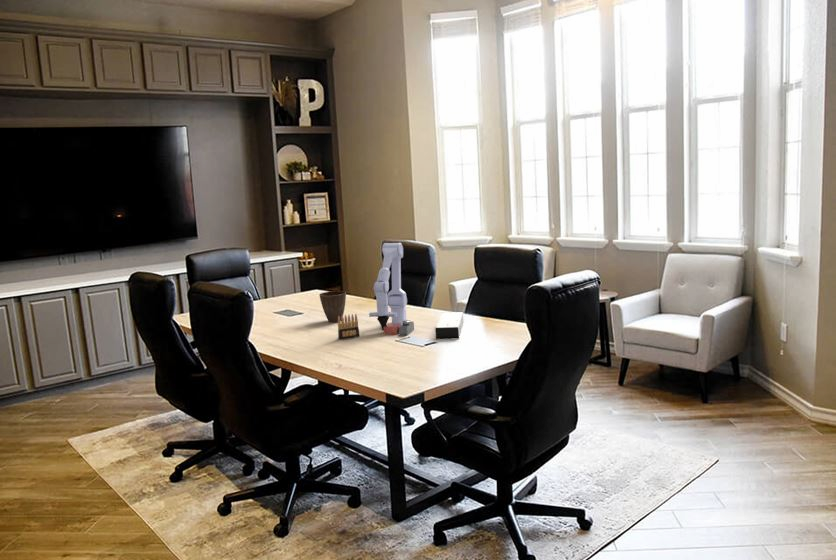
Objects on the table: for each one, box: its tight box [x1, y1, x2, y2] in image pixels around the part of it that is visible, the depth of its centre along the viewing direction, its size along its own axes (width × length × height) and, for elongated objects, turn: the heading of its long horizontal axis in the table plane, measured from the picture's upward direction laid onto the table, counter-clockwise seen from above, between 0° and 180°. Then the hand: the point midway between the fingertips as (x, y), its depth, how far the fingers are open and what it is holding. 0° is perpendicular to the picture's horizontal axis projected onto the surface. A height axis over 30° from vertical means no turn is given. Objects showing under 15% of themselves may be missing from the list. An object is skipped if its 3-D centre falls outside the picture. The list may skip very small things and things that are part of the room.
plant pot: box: [319, 290, 347, 323], centre depth 384 cm, size 15×15×16 cm
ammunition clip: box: [337, 313, 361, 340], centre depth 343 cm, size 11×2×12 cm, turn 112°
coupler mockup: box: [398, 319, 415, 337], centre depth 349 cm, size 12×11×6 cm
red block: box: [383, 322, 401, 335], centre depth 350 cm, size 8×7×4 cm
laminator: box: [434, 311, 464, 340], centre depth 347 cm, size 34×12×6 cm, turn 172°
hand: (384, 330), depth 351 cm, fingers closed
